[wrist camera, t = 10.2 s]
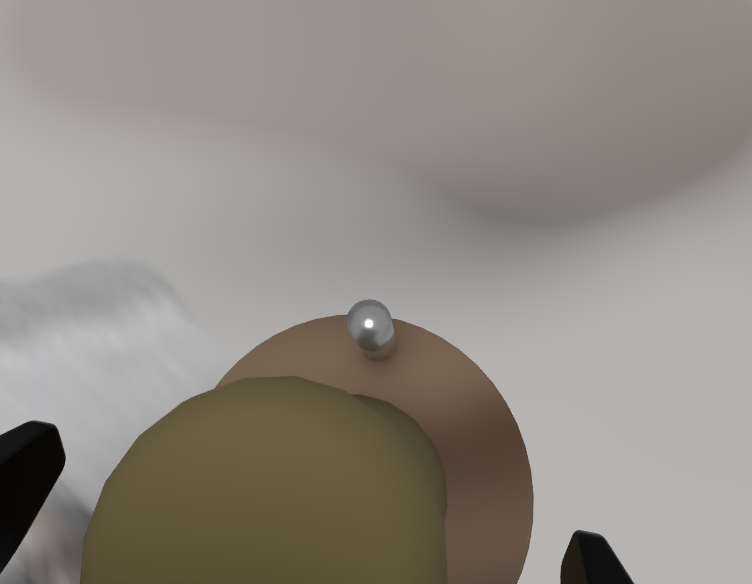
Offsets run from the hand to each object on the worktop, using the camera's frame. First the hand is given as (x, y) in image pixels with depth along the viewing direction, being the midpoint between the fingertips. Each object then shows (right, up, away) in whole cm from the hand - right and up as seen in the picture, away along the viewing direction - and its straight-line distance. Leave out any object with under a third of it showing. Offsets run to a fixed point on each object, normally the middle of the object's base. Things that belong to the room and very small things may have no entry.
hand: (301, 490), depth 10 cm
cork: (0, -3, +8) cm, 8 cm away
